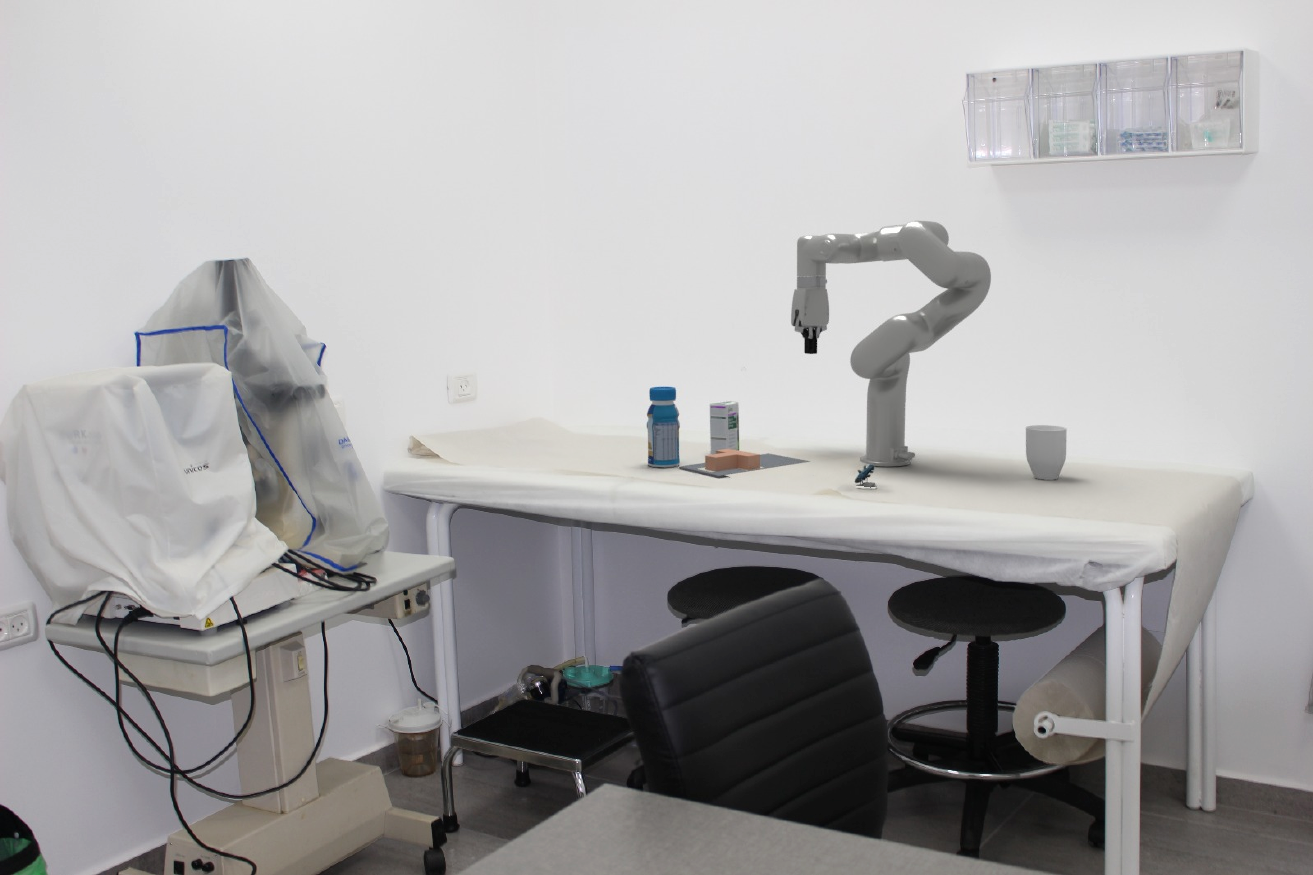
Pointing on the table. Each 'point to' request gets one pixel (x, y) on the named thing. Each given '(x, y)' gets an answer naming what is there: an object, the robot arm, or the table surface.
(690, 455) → the table surface
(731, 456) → the tee
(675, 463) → the beverage bottle
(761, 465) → the mat
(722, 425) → the syrup box
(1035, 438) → the mug
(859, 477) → the sculpture
